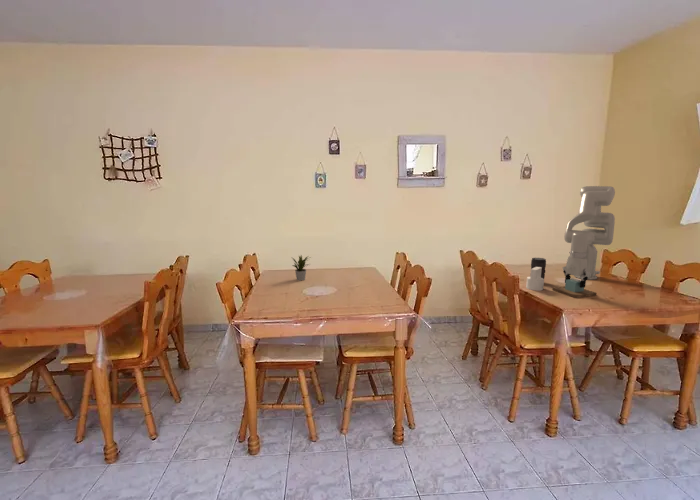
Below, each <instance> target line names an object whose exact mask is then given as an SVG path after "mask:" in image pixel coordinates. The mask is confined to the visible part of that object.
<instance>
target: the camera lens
mask: <svg viewBox="0 0 700 500" xmlns="http://www.w3.org/2000/svg"><path fill="white" fill-rule="evenodd" d="M546 260H547V259H546V258H544V257H531V259H530V261H531V262H530V270H531V269H532V268H535V267H542V270H541V278H543V279H544V280H545V277H546V267H547V261H546ZM529 274H531V272H530V273H529Z"/></svg>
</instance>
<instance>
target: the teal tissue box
mask: <svg viewBox="0 0 700 500" xmlns="http://www.w3.org/2000/svg"><path fill="white" fill-rule="evenodd" d="M580 281H581V279H577V278H573V277H571V279H568V280H566V283H565V282H564V283H565V285H564V286H565V289H566V290H569V291H572V292H582V291H584V289H585V287H583V288H580Z"/></svg>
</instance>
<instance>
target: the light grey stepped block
mask: <svg viewBox="0 0 700 500" xmlns="http://www.w3.org/2000/svg"><path fill="white" fill-rule="evenodd" d="M541 270H542V267H535V268H532V269H531V268H530V273H531V274H530V273H529V274H530V275H529V276H527V277H526V285H525V288H526V289H527V290H531V291H543V290H544V286H545V285H544V284H545V278H544V279H543V278H541Z"/></svg>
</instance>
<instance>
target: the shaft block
mask: <svg viewBox="0 0 700 500" xmlns="http://www.w3.org/2000/svg"><path fill="white" fill-rule="evenodd" d="M552 291H553V292H556V293H559V294H563V295H565V296H568V297H571V298H573V299H579V298H585V297H586V298H587V297H595V296H597V292H595V291H592V290H589V289H585V288H584V291H582V292H572V291H569V290H566V289H565V285H564V286H558V287H557V286H555V287H552Z"/></svg>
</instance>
